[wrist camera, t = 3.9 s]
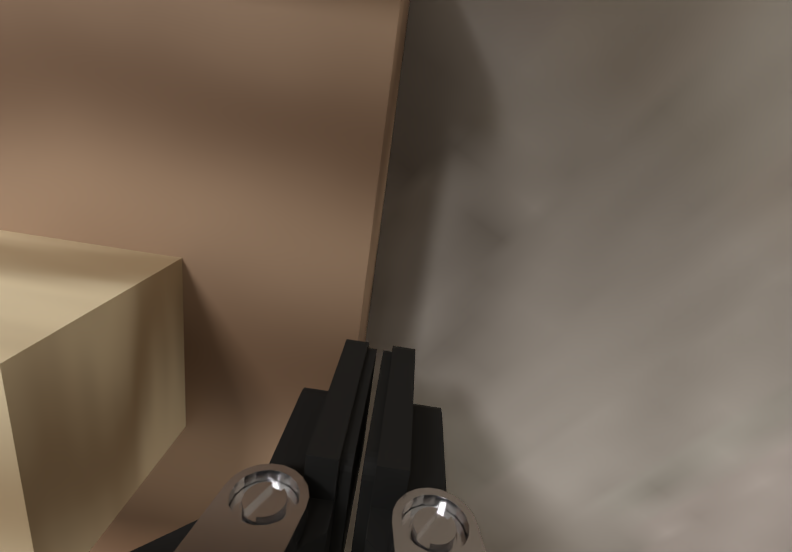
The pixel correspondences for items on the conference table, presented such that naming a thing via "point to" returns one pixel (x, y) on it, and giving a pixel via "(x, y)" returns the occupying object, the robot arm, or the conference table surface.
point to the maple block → (83, 385)
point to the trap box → (212, 193)
